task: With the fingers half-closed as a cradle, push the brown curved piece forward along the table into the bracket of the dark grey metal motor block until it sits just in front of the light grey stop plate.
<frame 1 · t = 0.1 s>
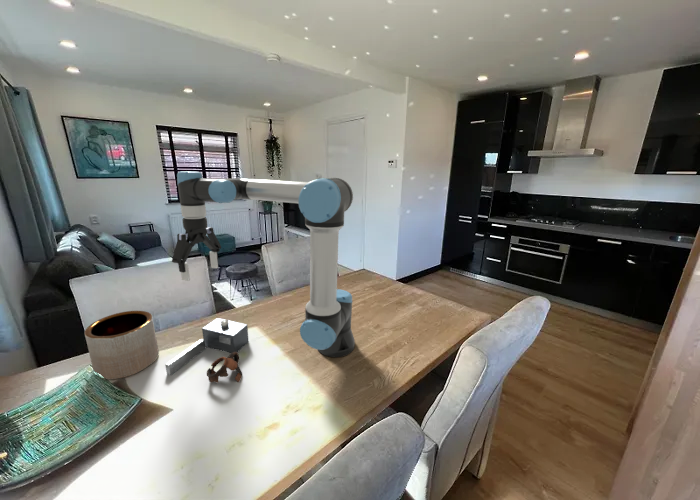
hand: (201, 273, 104), 28 cm above the table, fingers open, 13 cm apart
planter: (128, 363, 97), on the table
brown curved piece: (228, 376, 93), on the table
motor bracket: (215, 353, 103), on the table
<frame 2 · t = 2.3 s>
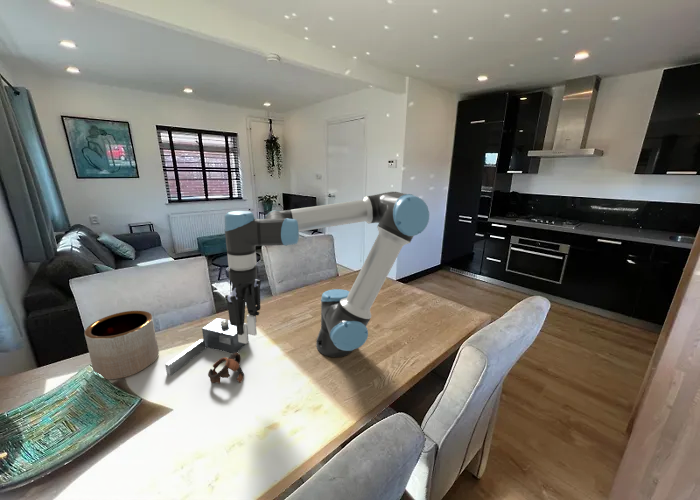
hand: (247, 337, 86), 17 cm above the table, fingers open, 4 cm apart
nothing on the table moved.
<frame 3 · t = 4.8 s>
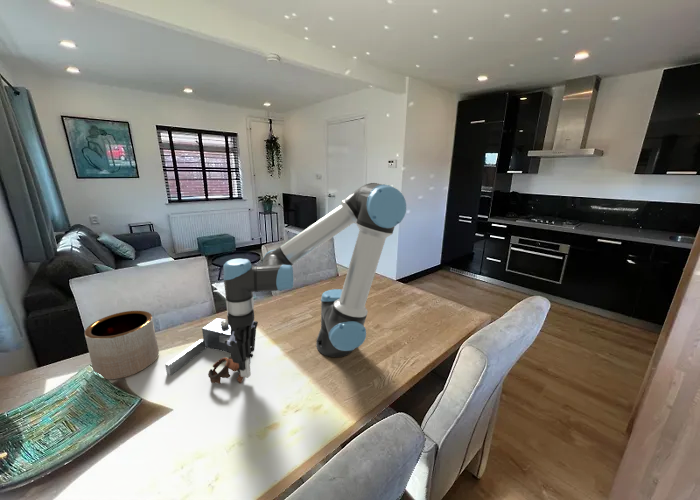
hand: (245, 375, 90), 2 cm above the table, fingers closed
brown curved piece: (229, 377, 92), on the table, touching gripper
everything else where it was.
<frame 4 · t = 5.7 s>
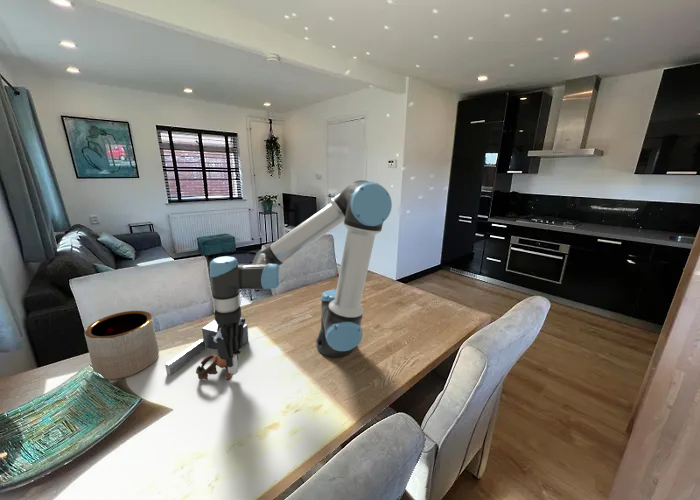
hand: (233, 372, 91), 2 cm above the table, fingers closed
brown curved piece: (217, 374, 93), on the table, touching gripper
everything else where it was.
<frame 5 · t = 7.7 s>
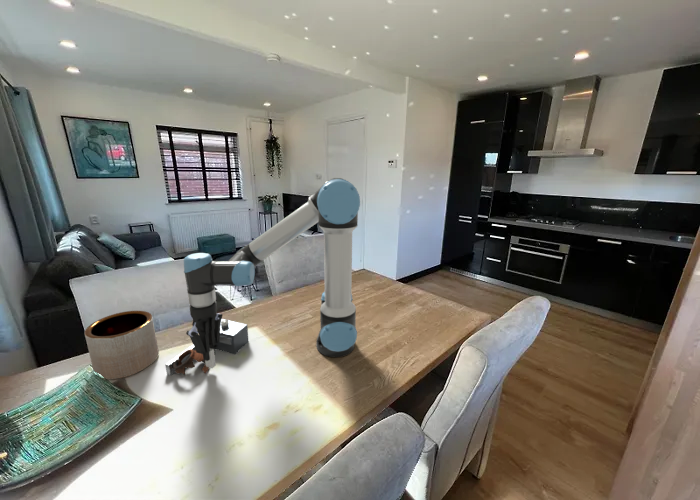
hand: (210, 365, 94), 2 cm above the table, fingers closed
brown curved piece: (195, 368, 96), on the table, touching gripper, motor bracket
everything else where it was.
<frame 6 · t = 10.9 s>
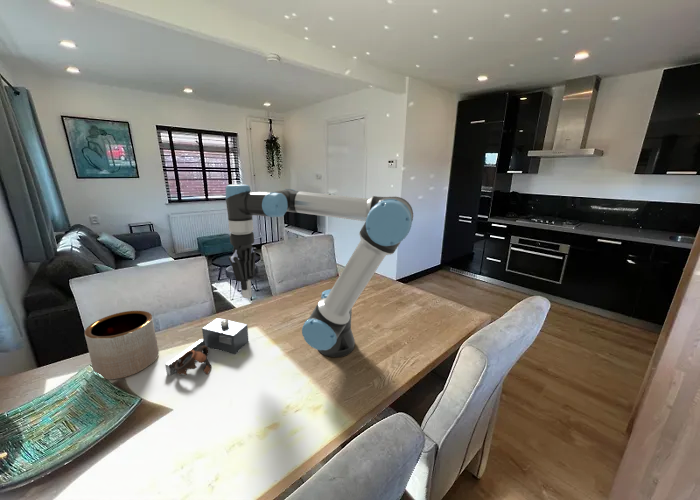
hand: (247, 296, 99), 22 cm above the table, fingers closed
brown curved piece: (197, 369, 95), on the table
everything else where it was.
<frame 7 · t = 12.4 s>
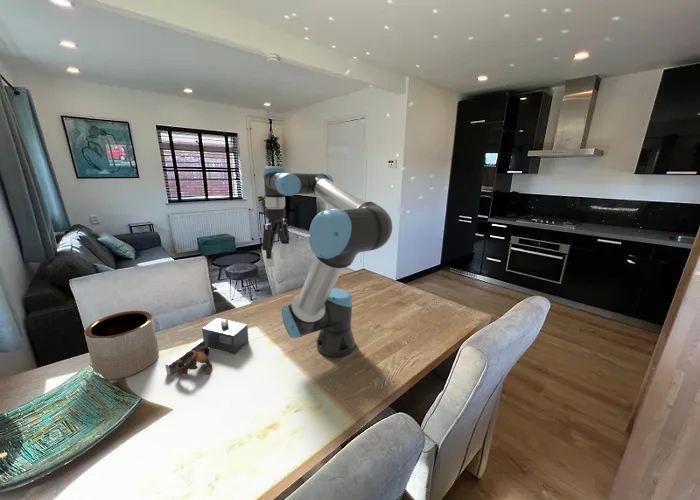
hand: (277, 262, 115), 30 cm above the table, fingers open, 9 cm apart
nothing on the table moved.
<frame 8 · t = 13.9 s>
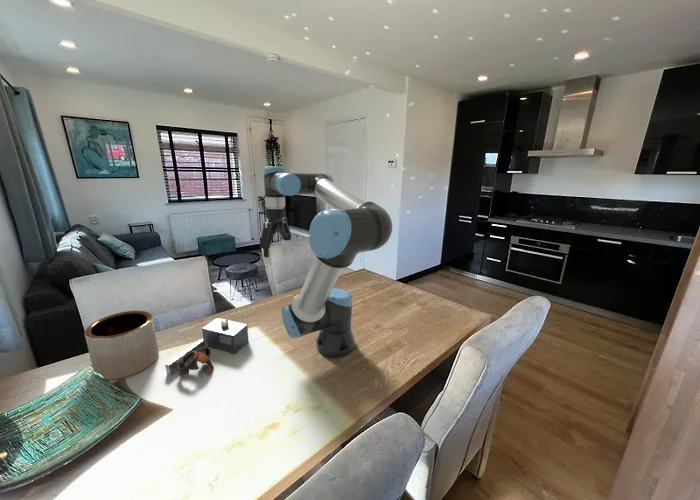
hand: (277, 259, 114), 31 cm above the table, fingers open, 13 cm apart
nothing on the table moved.
at the end: brown curved piece inside the target area on the motor bracket (0.8 cm from its centre), point 0.0 cm above the motor bracket's base; brown curved piece moved 11.0 cm from its start; brown curved piece touching table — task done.
